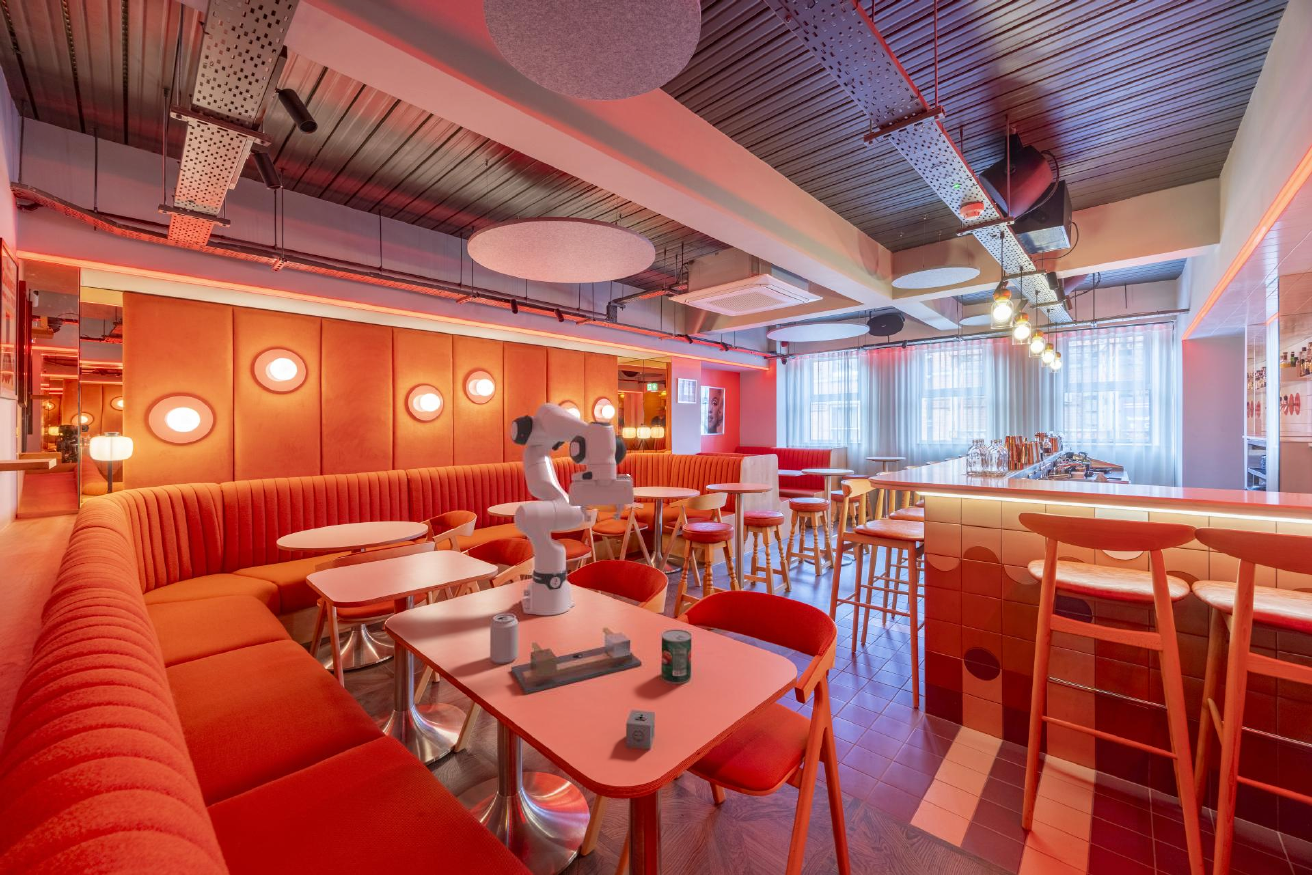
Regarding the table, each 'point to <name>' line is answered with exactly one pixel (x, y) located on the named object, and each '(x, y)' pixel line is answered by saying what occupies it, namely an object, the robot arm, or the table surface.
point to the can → (503, 638)
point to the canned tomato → (676, 656)
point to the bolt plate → (574, 674)
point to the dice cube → (640, 729)
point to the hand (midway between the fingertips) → (602, 520)
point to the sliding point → (616, 644)
